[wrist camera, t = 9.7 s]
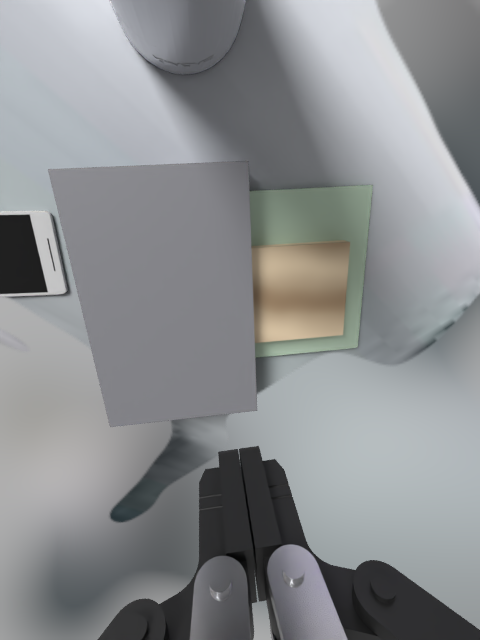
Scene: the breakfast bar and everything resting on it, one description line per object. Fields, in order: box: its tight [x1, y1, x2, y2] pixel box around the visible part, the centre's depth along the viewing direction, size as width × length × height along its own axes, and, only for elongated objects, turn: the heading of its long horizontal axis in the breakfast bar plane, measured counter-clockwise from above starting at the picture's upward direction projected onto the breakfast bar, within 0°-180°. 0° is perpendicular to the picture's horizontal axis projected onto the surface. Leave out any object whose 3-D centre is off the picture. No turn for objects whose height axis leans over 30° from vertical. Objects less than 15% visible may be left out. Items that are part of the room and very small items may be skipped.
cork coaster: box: [251, 240, 350, 343], centre depth 30 cm, size 9×9×2 cm
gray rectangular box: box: [48, 161, 257, 427], centre depth 29 cm, size 22×14×4 cm, turn 3°
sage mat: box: [250, 185, 373, 358], centre depth 31 cm, size 16×11×1 cm
